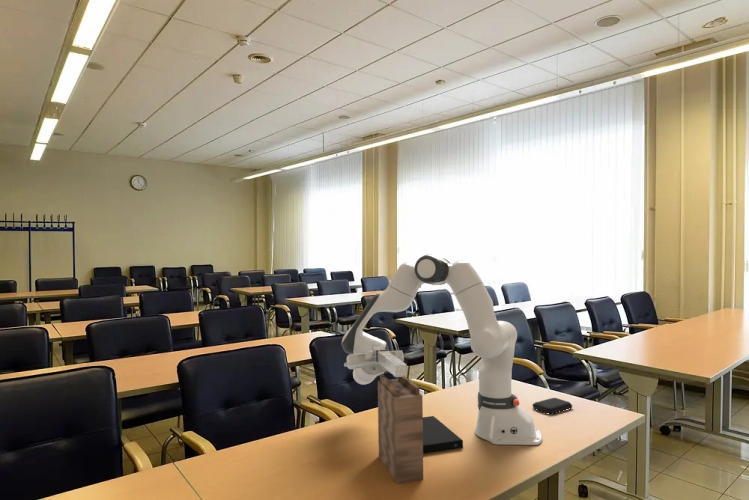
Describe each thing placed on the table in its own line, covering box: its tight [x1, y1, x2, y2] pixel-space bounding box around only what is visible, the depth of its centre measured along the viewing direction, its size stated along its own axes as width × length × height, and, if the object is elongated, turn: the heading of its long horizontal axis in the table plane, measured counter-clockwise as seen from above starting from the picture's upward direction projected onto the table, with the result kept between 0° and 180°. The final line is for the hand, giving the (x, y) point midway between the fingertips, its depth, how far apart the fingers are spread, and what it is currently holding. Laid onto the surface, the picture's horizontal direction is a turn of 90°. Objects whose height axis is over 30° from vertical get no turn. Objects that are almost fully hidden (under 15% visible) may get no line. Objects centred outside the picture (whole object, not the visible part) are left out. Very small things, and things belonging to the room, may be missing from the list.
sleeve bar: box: [372, 346, 408, 378], centre depth 151 cm, size 26×4×4 cm, turn 16°
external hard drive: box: [423, 415, 464, 455], centre depth 164 cm, size 14×23×3 cm, turn 17°
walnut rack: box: [377, 374, 424, 485], centre depth 141 cm, size 18×8×26 cm, turn 16°
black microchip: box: [532, 397, 573, 415], centre depth 191 cm, size 11×3×15 cm
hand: (380, 352), depth 160 cm, fingers closed on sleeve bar, 3 cm apart
